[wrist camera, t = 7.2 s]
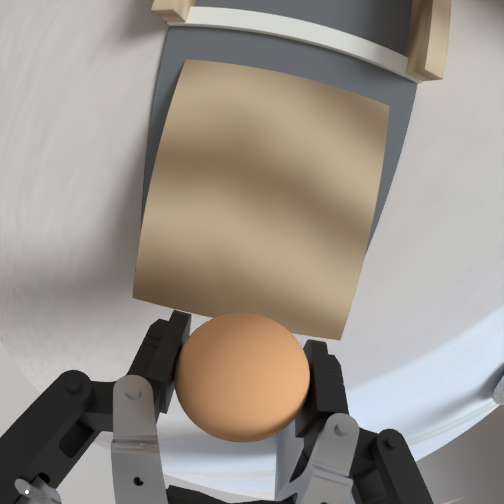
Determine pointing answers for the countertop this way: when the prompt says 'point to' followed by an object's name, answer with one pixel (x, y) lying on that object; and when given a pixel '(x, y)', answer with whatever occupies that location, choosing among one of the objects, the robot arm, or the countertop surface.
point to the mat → (299, 57)
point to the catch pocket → (418, 43)
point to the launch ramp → (261, 198)
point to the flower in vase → (499, 392)
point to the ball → (242, 377)
